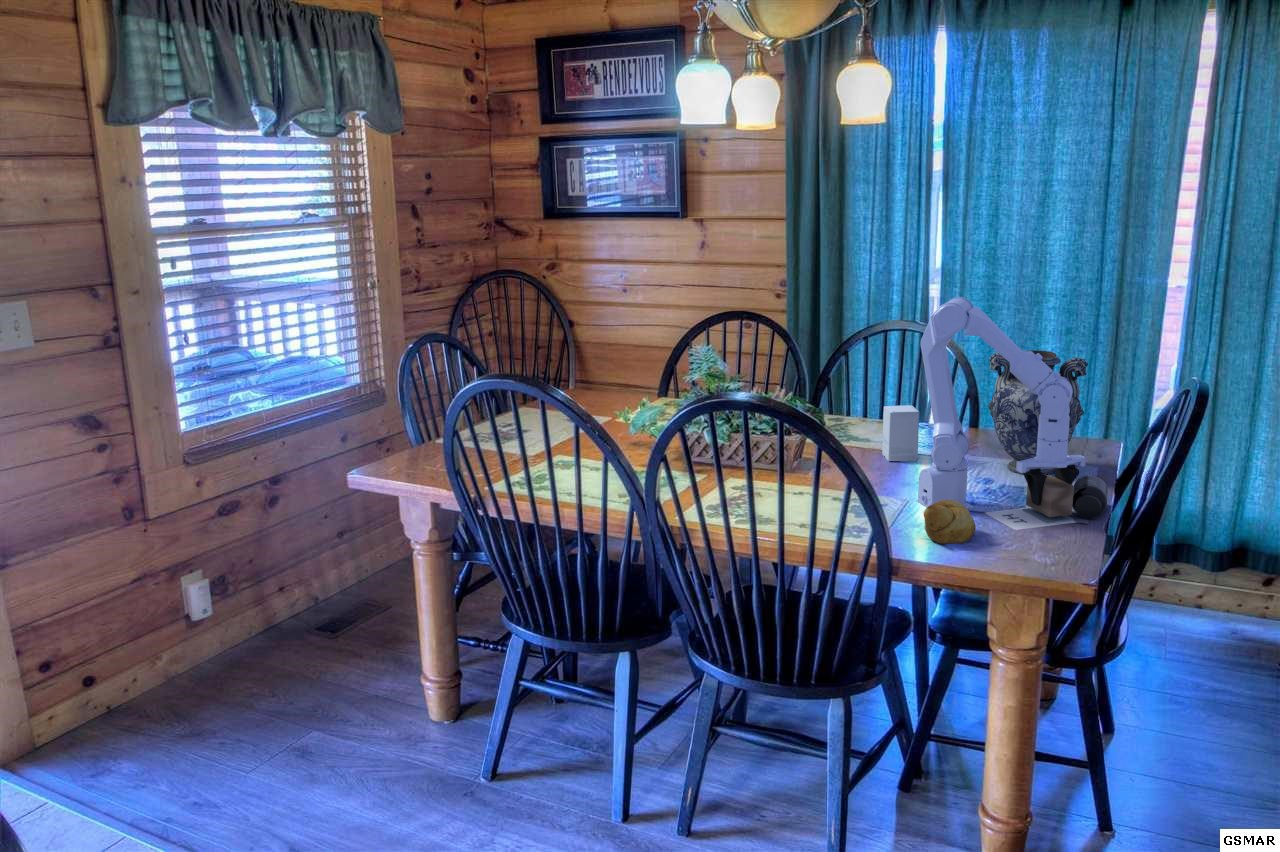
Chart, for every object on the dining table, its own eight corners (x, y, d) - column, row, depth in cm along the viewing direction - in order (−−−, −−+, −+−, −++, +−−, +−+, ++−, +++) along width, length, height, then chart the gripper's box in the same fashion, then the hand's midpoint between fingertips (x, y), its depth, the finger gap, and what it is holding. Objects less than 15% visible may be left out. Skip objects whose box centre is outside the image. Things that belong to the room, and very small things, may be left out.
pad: (1047, 523, 206) (1047, 522, 206) (1021, 510, 214) (1022, 508, 214) (1073, 520, 207) (1073, 519, 207) (1047, 507, 215) (1047, 505, 215)
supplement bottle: (1066, 495, 219) (1062, 512, 208) (1083, 468, 216) (1080, 484, 206) (1097, 511, 217) (1095, 529, 207) (1114, 485, 214) (1113, 501, 204)
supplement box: (918, 461, 253) (920, 411, 250) (887, 462, 253) (889, 412, 250) (911, 453, 260) (912, 404, 257) (881, 454, 260) (883, 405, 257)
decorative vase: (1081, 462, 248) (1089, 347, 240) (1078, 485, 231) (1086, 363, 224) (988, 454, 256) (994, 343, 249) (979, 476, 240) (984, 358, 233)
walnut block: (1049, 517, 206) (1051, 488, 204) (1026, 504, 213) (1028, 477, 212) (1071, 514, 207) (1073, 486, 205) (1047, 502, 214) (1049, 474, 213)
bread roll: (925, 524, 210) (926, 486, 208) (975, 527, 207) (977, 489, 205) (921, 546, 198) (923, 506, 196) (974, 550, 195) (976, 510, 193)
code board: (1014, 532, 203) (1015, 529, 203) (984, 515, 213) (984, 512, 213) (1077, 525, 206) (1077, 522, 206) (1043, 508, 217) (1043, 505, 216)
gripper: (1032, 446, 201) (1028, 512, 204) (1097, 439, 204) (1092, 504, 208) (1011, 437, 208) (1008, 501, 211) (1074, 431, 211) (1070, 494, 214)
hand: (1048, 502), depth 210 cm, fingers closed on walnut block, 5 cm apart
